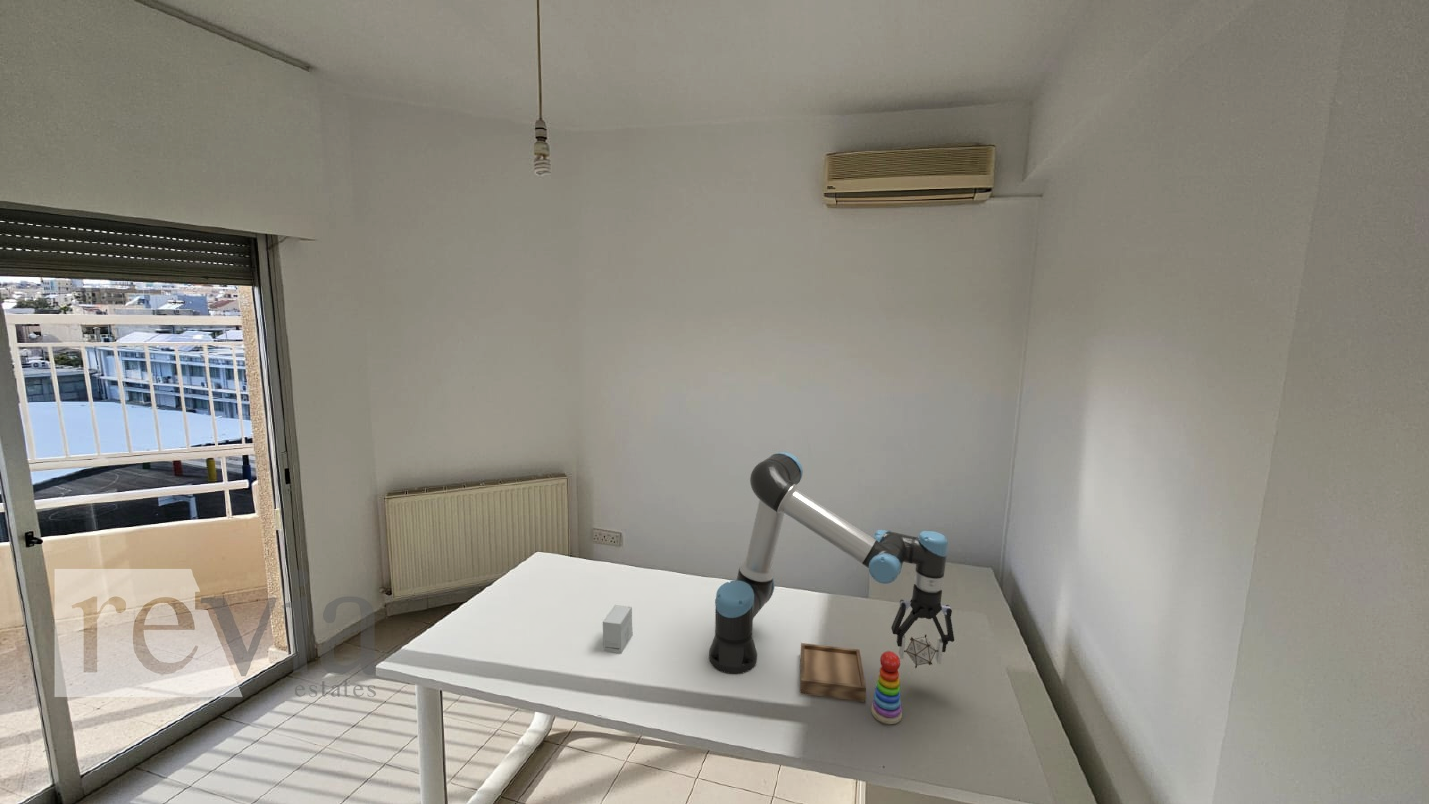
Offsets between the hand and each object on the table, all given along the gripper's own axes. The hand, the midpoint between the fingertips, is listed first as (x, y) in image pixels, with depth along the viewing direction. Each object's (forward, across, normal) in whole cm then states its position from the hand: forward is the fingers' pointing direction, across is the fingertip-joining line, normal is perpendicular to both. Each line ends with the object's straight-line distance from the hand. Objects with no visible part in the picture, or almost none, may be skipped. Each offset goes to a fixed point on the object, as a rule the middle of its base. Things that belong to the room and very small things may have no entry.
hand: (919, 658), depth 156 cm
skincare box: (+12, -92, +5) cm, 93 cm away
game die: (+2, 0, 0) cm, 2 cm away
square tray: (+10, -24, +1) cm, 26 cm away
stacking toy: (+10, -10, -12) cm, 19 cm away
